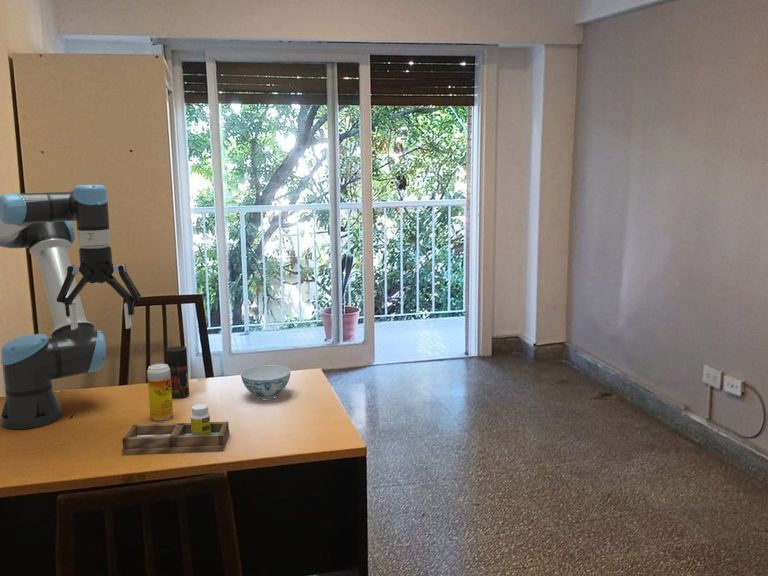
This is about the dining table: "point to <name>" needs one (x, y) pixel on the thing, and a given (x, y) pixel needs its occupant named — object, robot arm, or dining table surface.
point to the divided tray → (173, 439)
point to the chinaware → (266, 380)
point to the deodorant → (178, 371)
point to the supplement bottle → (200, 420)
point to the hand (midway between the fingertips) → (101, 328)
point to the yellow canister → (160, 392)
